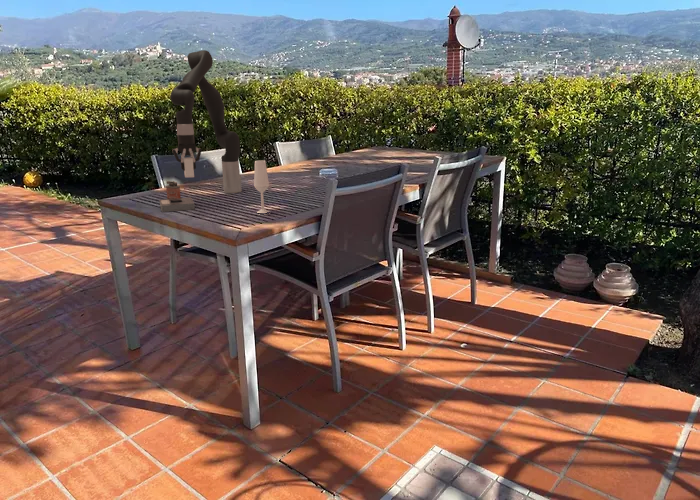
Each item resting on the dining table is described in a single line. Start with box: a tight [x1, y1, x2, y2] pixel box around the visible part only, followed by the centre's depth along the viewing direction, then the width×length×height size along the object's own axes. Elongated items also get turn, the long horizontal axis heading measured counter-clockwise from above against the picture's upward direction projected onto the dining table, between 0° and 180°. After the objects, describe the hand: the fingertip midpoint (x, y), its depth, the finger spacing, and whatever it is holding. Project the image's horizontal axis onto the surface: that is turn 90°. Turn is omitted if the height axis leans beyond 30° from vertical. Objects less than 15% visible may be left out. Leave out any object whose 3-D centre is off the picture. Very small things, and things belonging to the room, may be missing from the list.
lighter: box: [165, 180, 182, 199], centre depth 262 cm, size 8×3×10 cm, turn 71°
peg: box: [184, 156, 195, 178], centre depth 245 cm, size 4×4×9 cm
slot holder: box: [159, 196, 196, 213], centre depth 247 cm, size 15×15×3 cm
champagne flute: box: [253, 159, 270, 213], centre depth 233 cm, size 7×7×24 cm
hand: (188, 169), depth 245 cm, fingers closed on peg, 4 cm apart
